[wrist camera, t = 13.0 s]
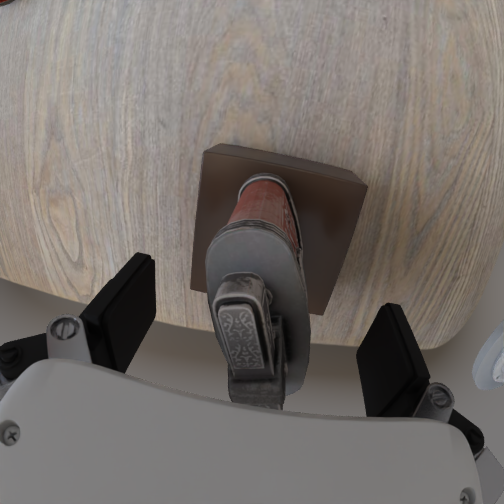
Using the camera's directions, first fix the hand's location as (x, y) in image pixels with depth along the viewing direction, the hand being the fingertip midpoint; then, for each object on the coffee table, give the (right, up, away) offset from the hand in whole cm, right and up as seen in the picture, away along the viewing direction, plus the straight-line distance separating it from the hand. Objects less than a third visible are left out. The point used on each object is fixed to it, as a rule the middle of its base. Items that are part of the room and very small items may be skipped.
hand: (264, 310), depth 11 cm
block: (+1, +5, +9) cm, 10 cm away
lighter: (+1, +3, +5) cm, 6 cm away
